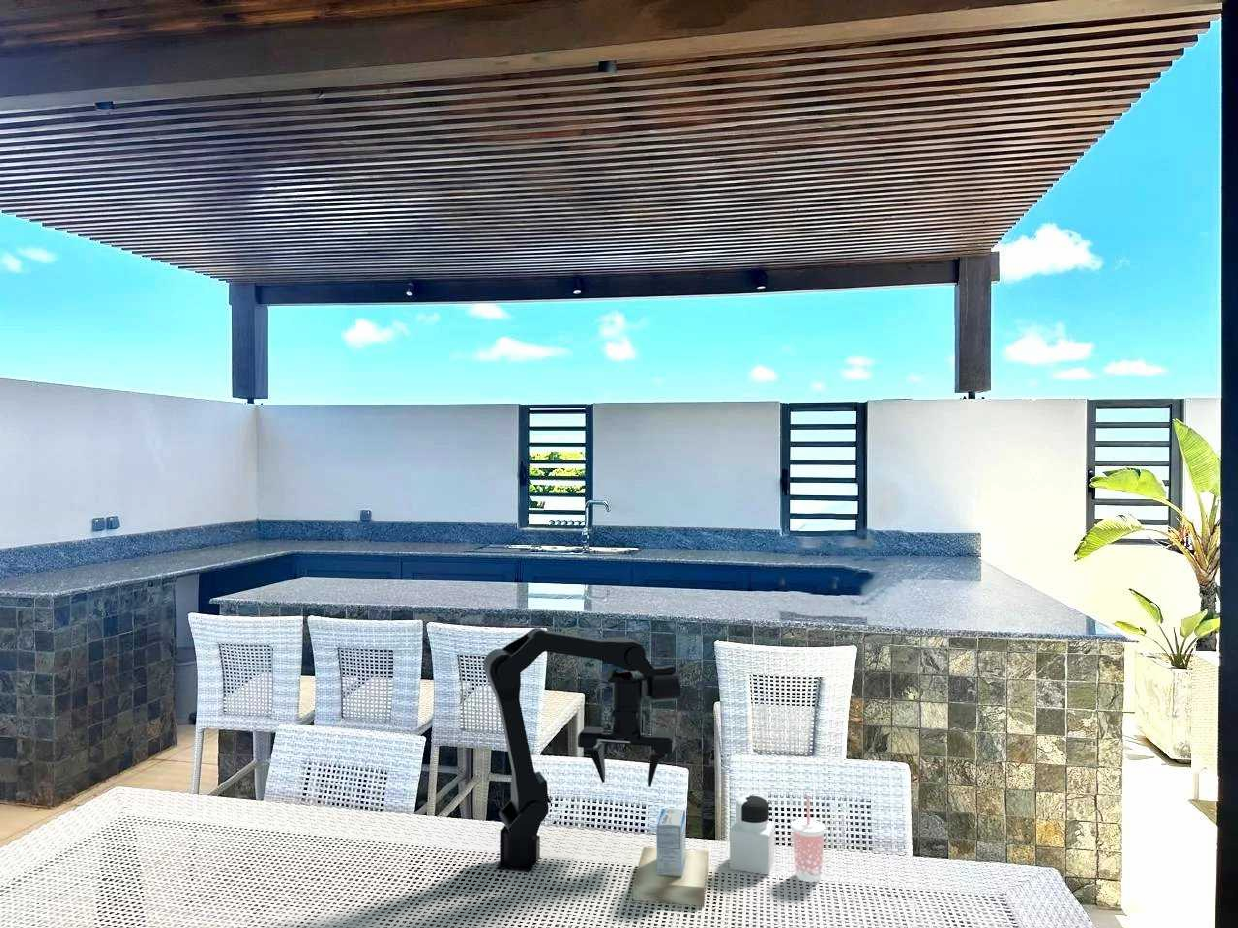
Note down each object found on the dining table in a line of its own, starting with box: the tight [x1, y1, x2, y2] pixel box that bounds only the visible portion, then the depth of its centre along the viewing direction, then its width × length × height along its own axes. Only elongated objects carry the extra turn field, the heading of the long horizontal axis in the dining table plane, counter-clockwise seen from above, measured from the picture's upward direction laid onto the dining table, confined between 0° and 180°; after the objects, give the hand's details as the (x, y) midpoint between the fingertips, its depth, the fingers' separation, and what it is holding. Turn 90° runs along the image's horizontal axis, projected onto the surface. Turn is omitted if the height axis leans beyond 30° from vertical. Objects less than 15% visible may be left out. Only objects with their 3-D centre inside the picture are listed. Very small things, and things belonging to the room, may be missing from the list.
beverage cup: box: [790, 796, 827, 883], centre depth 144 cm, size 6×6×14 cm
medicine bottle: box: [729, 794, 775, 875], centre depth 149 cm, size 7×7×12 cm
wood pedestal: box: [632, 846, 709, 907], centre depth 141 cm, size 12×14×3 cm
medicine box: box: [655, 808, 686, 877], centre depth 141 cm, size 8×4×9 cm, turn 171°
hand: (626, 784), depth 156 cm, fingers open, 9 cm apart
